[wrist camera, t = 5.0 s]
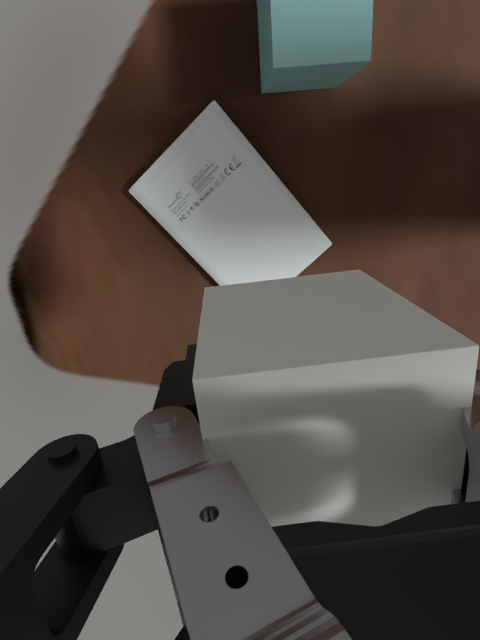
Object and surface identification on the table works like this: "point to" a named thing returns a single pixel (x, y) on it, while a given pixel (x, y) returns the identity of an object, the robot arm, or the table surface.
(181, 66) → the table surface
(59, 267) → the table surface
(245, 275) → the external hard drive
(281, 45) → the teal block
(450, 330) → the white block
